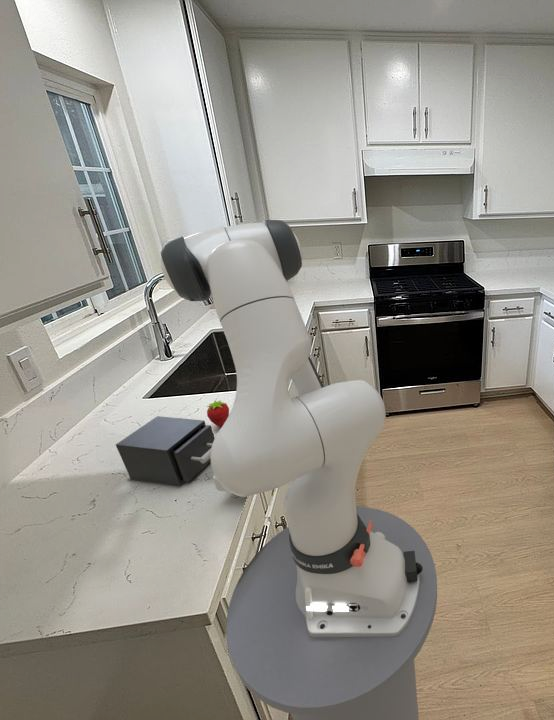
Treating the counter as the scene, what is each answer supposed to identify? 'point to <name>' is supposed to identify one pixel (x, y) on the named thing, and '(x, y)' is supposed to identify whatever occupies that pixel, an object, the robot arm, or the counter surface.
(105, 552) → the counter surface
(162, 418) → the drawer box
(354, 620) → the robot arm
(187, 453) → the dark grey drawer
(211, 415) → the strawberry
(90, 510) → the counter surface
